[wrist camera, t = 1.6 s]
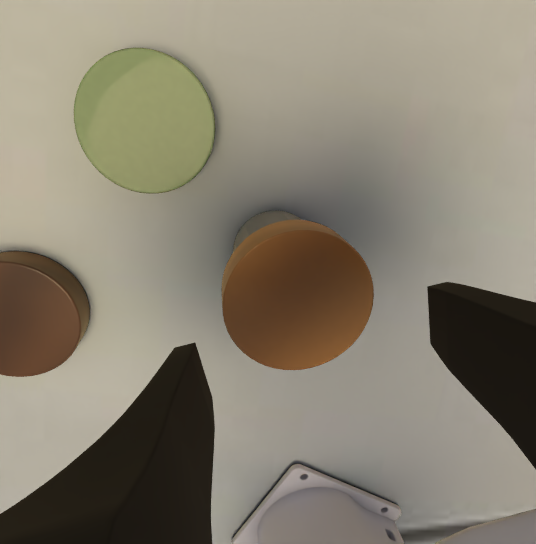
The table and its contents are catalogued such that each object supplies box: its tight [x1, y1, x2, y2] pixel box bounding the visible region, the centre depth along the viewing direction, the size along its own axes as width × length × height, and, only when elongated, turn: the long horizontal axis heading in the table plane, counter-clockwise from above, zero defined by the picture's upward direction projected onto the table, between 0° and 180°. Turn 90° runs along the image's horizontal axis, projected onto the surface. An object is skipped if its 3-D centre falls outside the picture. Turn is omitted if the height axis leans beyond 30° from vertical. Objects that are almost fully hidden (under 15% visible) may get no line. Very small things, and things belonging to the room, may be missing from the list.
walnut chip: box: [0, 251, 90, 377], centre depth 19 cm, size 6×6×2 cm
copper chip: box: [221, 220, 374, 370], centre depth 15 cm, size 6×6×2 cm
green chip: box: [74, 48, 215, 193], centre depth 17 cm, size 6×6×2 cm
